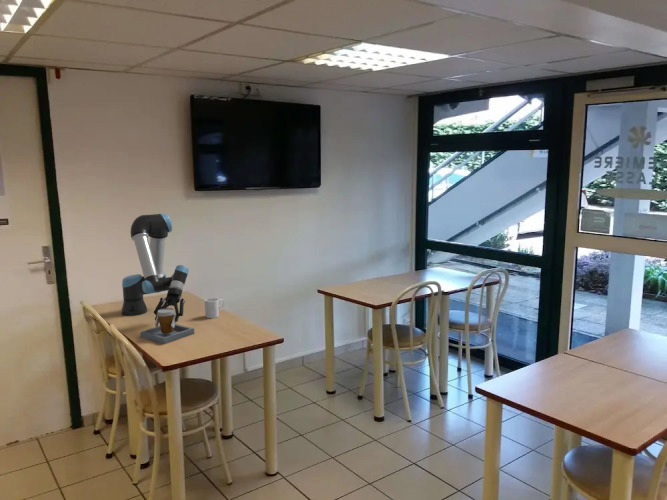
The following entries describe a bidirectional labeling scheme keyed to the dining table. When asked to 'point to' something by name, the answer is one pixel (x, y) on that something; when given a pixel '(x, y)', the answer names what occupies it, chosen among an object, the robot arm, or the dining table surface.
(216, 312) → the mug
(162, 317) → the disposable coffee cup
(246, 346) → the dining table surface
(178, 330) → the slate tray
